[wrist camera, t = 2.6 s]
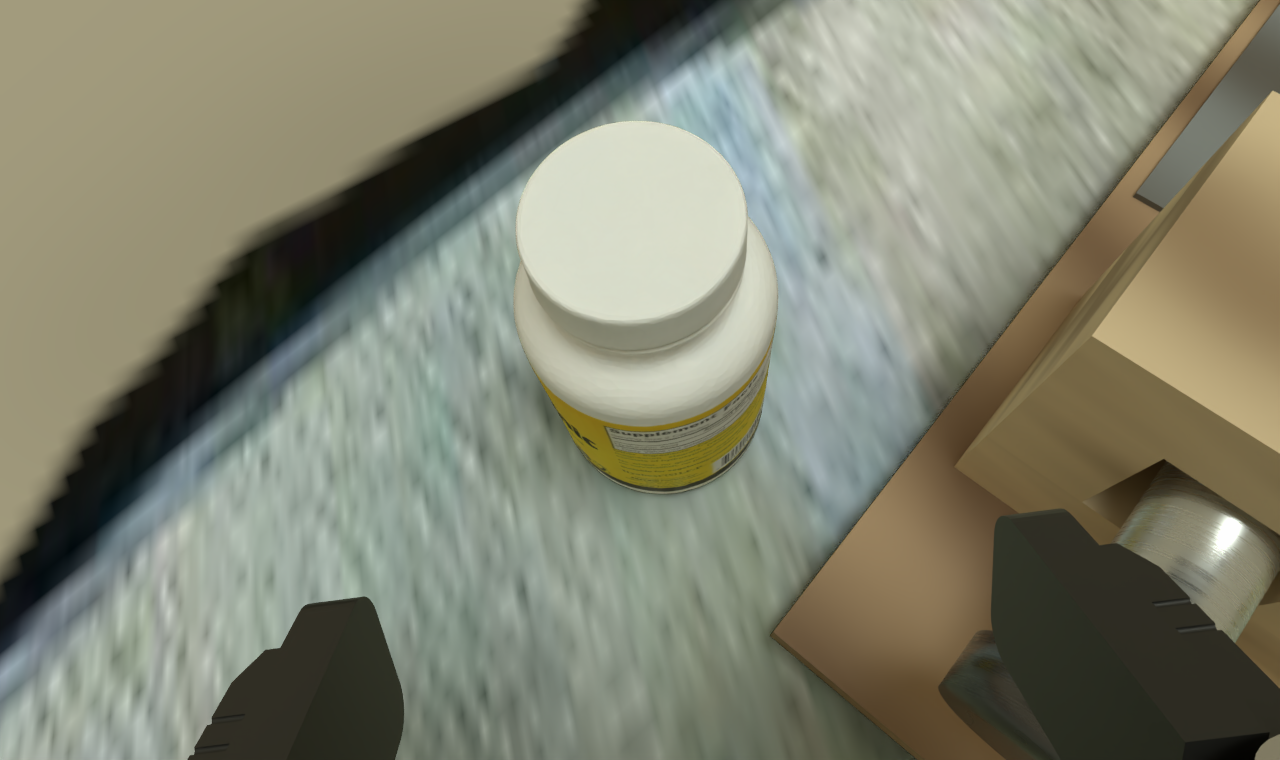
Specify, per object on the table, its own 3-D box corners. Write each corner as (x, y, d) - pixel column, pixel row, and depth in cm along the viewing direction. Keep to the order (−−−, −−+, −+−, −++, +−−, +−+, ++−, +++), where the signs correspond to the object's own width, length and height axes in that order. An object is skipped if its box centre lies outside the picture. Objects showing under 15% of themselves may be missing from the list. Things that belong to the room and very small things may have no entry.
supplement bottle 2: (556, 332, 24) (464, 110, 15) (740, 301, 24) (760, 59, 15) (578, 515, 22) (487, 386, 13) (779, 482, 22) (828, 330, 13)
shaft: (1220, 254, 20) (1352, 139, 16) (1409, 361, 19) (1606, 266, 14) (914, 685, 17) (979, 680, 13) (1113, 846, 16) (1255, 898, 12)
